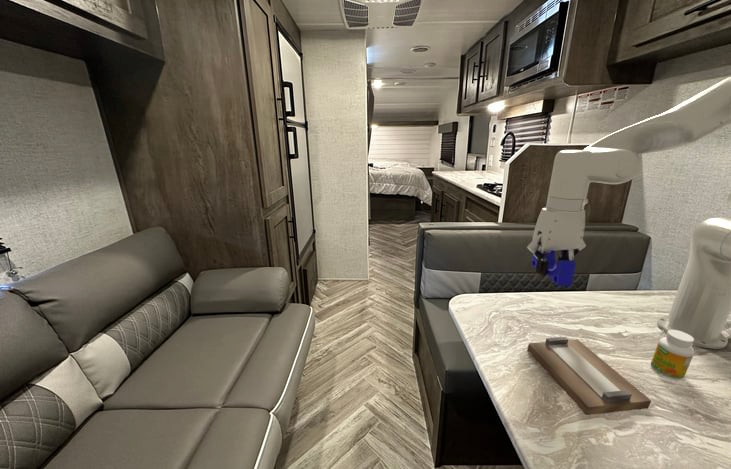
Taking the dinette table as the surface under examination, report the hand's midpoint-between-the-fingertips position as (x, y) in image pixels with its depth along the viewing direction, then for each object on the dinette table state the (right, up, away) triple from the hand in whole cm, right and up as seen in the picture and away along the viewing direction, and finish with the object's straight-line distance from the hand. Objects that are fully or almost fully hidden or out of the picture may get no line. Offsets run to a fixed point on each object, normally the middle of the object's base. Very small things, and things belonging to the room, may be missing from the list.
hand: (551, 272), depth 75 cm
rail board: (0, -22, -10) cm, 24 cm away
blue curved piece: (0, -1, 0) cm, 1 cm away
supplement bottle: (+20, -21, -9) cm, 31 cm away
